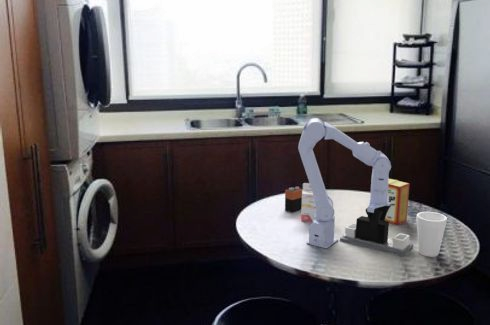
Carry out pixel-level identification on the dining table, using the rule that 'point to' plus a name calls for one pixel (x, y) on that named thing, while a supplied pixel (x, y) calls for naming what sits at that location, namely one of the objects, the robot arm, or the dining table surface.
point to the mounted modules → (398, 241)
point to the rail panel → (377, 245)
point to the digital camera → (372, 230)
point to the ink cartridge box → (308, 204)
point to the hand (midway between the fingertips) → (377, 226)
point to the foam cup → (430, 232)
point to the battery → (293, 199)
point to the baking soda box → (397, 202)
